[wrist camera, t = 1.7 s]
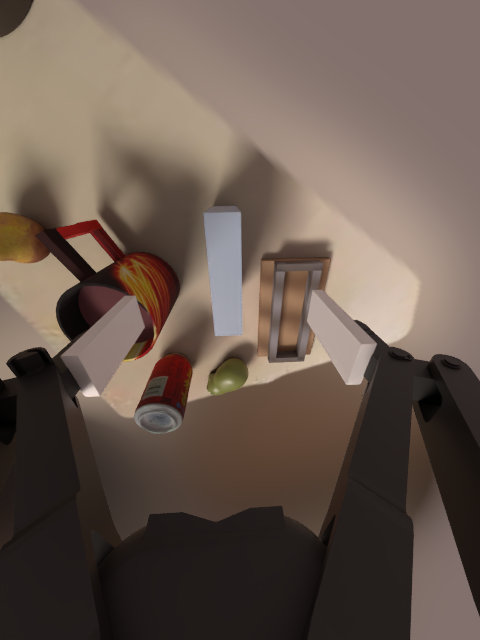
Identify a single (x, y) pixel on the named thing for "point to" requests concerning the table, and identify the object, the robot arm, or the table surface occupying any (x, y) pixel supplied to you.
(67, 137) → the table surface
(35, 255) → the fruit
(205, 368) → the table surface
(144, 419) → the soda can
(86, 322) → the mug
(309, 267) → the track base
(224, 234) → the door panel
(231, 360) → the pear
